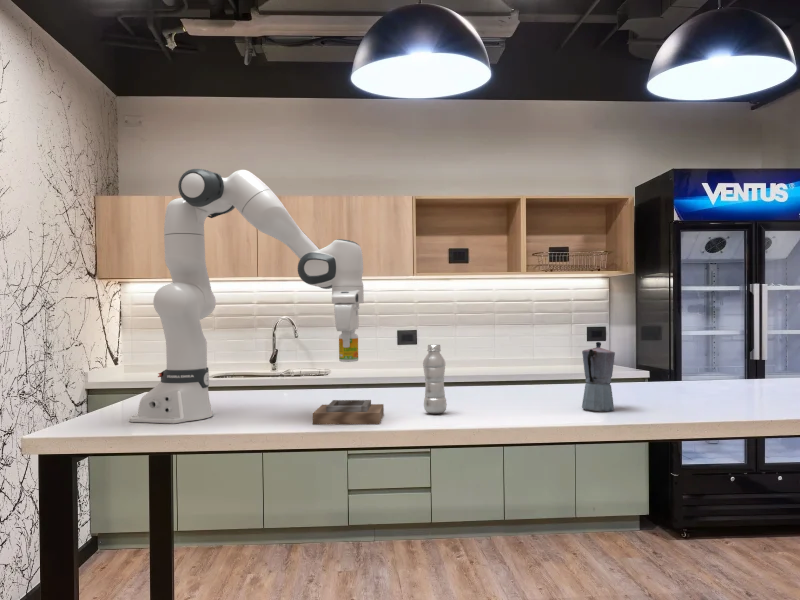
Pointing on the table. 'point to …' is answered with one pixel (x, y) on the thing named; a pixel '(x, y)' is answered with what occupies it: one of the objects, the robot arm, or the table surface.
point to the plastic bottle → (434, 381)
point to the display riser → (349, 412)
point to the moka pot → (598, 379)
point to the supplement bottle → (349, 348)
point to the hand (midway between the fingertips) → (348, 346)
